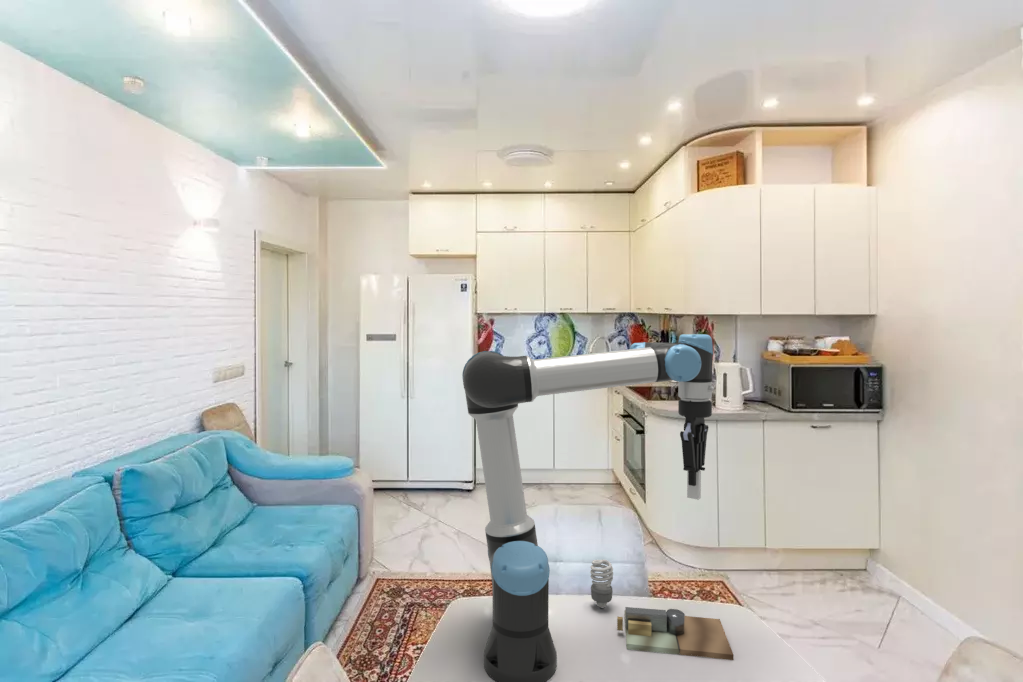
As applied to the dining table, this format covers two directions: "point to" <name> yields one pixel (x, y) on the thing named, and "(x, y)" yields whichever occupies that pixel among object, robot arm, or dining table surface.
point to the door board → (680, 638)
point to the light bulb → (601, 590)
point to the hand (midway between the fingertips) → (693, 497)
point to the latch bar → (658, 619)
